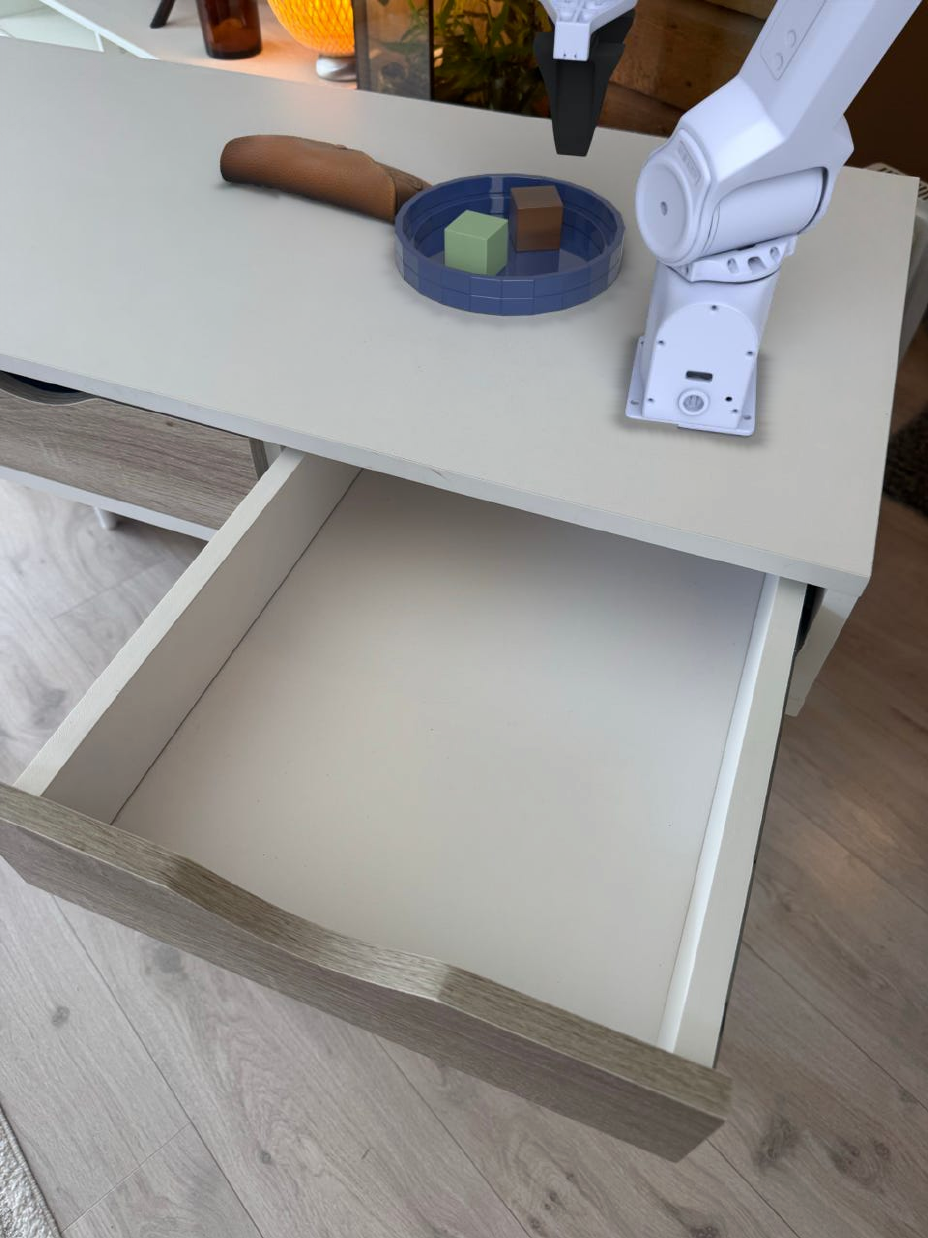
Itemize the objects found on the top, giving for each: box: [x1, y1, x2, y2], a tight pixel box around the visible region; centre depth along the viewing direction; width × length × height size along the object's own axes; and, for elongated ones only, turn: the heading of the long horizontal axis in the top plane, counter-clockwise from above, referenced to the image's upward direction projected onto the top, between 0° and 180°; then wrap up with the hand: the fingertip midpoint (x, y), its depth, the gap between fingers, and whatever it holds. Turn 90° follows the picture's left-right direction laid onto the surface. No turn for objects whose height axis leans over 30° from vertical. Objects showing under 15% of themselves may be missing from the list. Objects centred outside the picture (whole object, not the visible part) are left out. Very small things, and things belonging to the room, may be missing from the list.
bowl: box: [394, 172, 626, 317], centre depth 71 cm, size 17×17×3 cm
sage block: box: [444, 210, 508, 276], centre depth 70 cm, size 4×4×4 cm
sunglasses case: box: [219, 134, 433, 223], centre depth 79 cm, size 18×7×7 cm
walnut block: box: [509, 186, 563, 252], centre depth 73 cm, size 4×4×4 cm
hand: (576, 141), depth 65 cm, fingers open, 4 cm apart
